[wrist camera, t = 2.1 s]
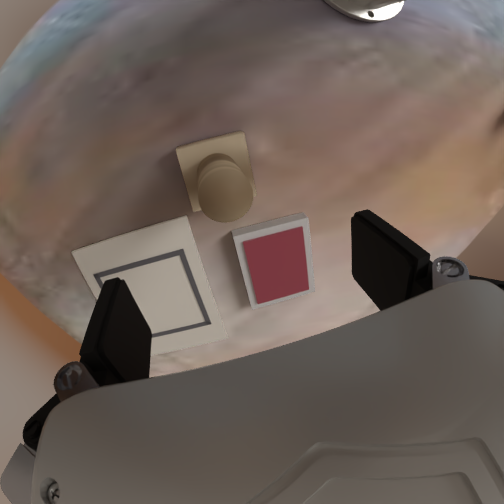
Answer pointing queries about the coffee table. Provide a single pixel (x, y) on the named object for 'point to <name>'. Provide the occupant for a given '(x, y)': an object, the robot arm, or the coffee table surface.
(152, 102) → the coffee table surface
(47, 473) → the robot arm
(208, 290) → the marked card
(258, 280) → the ink pad
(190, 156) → the stamp
